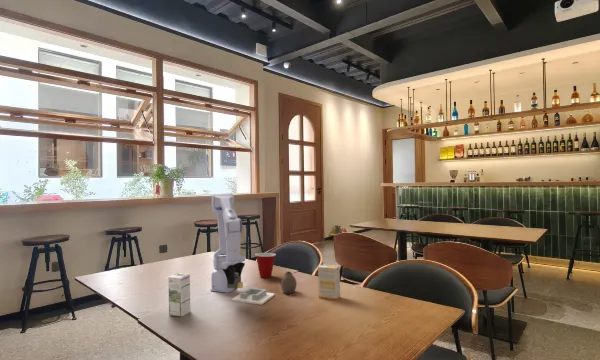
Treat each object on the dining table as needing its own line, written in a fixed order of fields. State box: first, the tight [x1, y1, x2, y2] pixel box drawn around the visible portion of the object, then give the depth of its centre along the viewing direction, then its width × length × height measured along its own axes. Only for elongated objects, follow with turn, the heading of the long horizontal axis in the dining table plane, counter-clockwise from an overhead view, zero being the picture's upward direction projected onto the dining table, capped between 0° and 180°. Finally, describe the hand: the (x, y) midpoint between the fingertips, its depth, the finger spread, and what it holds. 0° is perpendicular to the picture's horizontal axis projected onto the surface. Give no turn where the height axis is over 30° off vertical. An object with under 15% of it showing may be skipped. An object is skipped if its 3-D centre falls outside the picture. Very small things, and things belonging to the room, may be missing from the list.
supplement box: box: [317, 264, 341, 301], centre depth 141 cm, size 8×5×13 cm, turn 65°
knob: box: [227, 272, 244, 290], centre depth 136 cm, size 6×4×6 cm
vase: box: [280, 271, 297, 294], centre depth 149 cm, size 7×7×9 cm
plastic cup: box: [255, 252, 277, 279], centre depth 174 cm, size 11×11×12 cm
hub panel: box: [231, 287, 276, 306], centre depth 142 cm, size 14×12×3 cm
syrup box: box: [167, 272, 192, 318], centre depth 126 cm, size 6×6×14 cm
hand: (233, 282), depth 136 cm, fingers closed on knob, 4 cm apart
